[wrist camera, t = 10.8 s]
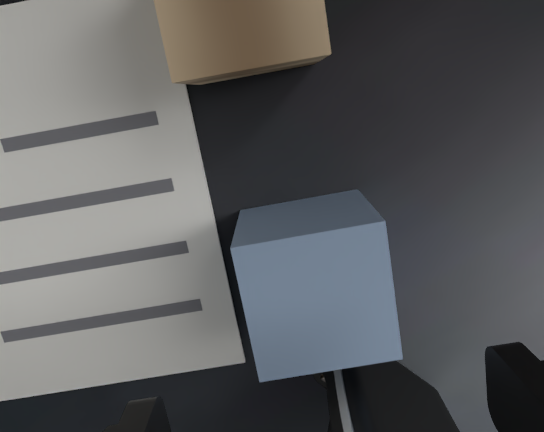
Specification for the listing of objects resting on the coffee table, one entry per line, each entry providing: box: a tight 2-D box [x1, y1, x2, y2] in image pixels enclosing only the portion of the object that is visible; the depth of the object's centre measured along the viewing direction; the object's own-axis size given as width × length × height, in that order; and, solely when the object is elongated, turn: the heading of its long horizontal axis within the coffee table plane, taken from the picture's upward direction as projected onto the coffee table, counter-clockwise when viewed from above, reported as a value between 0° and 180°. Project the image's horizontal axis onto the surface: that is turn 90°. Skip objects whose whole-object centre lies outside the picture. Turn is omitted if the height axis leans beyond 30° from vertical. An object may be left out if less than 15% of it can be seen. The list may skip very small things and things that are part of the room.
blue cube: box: [230, 189, 403, 382], centre depth 20 cm, size 6×6×6 cm
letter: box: [0, 0, 245, 401], centre depth 22 cm, size 14×18×1 cm
